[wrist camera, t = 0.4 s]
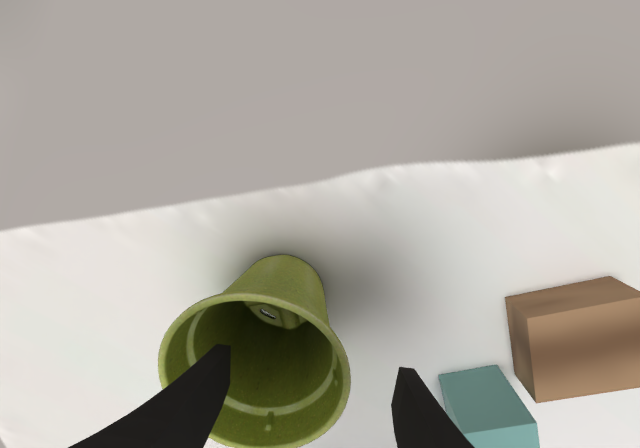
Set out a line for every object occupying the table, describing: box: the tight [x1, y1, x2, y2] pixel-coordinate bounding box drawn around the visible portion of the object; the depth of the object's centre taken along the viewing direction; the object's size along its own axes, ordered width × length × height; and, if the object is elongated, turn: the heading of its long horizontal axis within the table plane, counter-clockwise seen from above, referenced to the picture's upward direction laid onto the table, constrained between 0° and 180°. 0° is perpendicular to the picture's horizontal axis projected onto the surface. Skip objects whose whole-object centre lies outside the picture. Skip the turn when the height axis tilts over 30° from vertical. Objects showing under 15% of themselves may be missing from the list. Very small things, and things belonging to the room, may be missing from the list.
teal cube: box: [439, 365, 540, 448], centre depth 22 cm, size 4×4×5 cm
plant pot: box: [158, 255, 351, 448], centre depth 18 cm, size 9×9×9 cm
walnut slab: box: [505, 276, 640, 403], centre depth 21 cm, size 7×7×3 cm
